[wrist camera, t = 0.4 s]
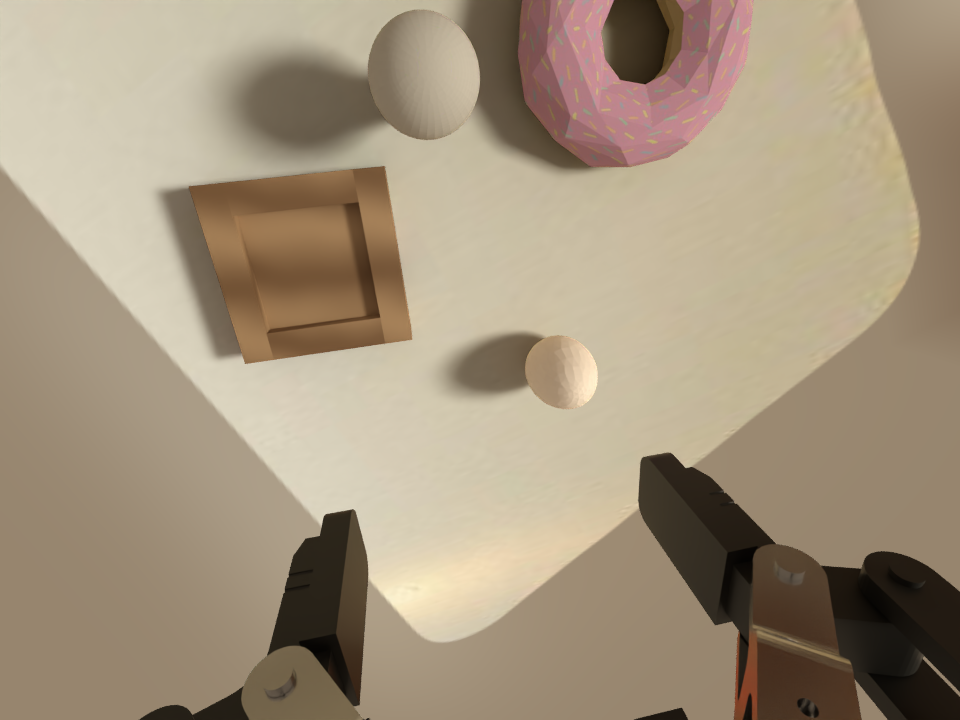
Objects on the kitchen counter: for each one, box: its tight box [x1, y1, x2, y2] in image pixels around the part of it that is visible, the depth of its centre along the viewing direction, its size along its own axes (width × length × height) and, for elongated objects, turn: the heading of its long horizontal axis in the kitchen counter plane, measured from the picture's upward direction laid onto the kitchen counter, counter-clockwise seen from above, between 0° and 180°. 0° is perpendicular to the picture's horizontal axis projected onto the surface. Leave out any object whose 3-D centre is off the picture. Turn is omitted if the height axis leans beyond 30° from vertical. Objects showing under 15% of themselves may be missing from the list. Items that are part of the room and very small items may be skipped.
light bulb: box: [368, 10, 480, 140], centre depth 27 cm, size 6×6×10 cm
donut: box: [518, 0, 753, 167], centre depth 30 cm, size 16×15×5 cm
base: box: [189, 166, 412, 364], centre depth 33 cm, size 12×12×2 cm
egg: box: [525, 335, 598, 409], centre depth 36 cm, size 5×5×8 cm
